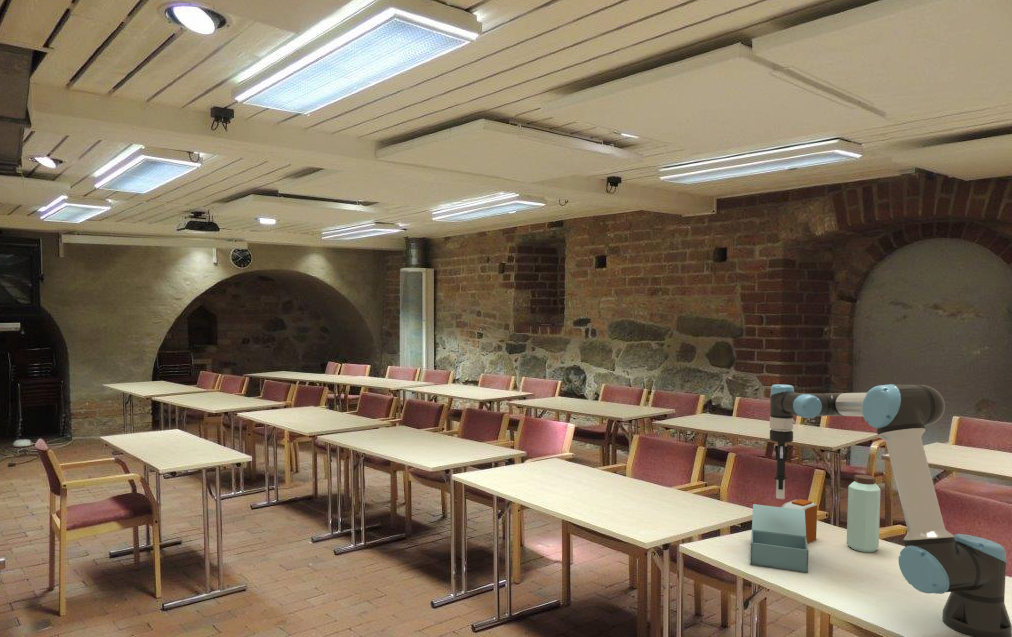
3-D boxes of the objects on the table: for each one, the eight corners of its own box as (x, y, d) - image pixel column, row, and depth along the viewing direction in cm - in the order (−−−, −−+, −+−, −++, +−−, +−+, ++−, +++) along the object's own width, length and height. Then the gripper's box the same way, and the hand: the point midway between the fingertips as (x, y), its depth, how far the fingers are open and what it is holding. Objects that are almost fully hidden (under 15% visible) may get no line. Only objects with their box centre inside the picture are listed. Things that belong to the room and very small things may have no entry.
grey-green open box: (807, 572, 219) (808, 550, 219) (750, 564, 225) (750, 542, 225) (805, 558, 232) (806, 537, 232) (751, 550, 238) (751, 530, 238)
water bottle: (839, 545, 246) (842, 474, 245) (859, 542, 250) (862, 472, 249) (865, 555, 237) (867, 481, 236) (885, 551, 241) (887, 478, 240)
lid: (804, 510, 244) (804, 511, 244) (753, 504, 250) (753, 505, 250) (806, 536, 232) (806, 537, 232) (751, 529, 238) (751, 531, 238)
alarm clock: (795, 533, 258) (796, 496, 258) (818, 539, 252) (819, 502, 252) (774, 541, 249) (775, 503, 249) (797, 547, 242) (798, 508, 242)
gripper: (793, 433, 234) (792, 503, 233) (792, 427, 246) (791, 495, 246) (769, 431, 236) (768, 501, 236) (769, 426, 248) (768, 492, 248)
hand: (780, 498), depth 241 cm, fingers closed
